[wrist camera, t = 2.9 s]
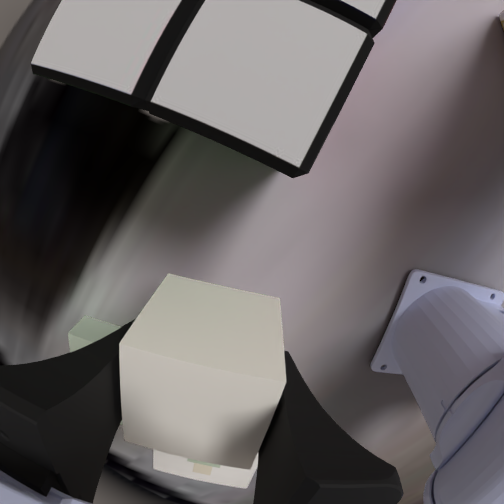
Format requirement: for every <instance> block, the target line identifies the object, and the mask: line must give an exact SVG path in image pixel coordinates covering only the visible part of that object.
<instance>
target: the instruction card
mask: <svg viewBox="0 0 504 504" xmlns="http://www.w3.org/2000/svg"><path fill="white" fill-rule="evenodd" d="M257 466H258V453H257V455H256V458H255V460H254V462H253V465H252V467H251V469H250V470H248V469H241V468H235V467H229V466H223V465H217V464H212V463H207V462H202V461H198V460H193V459H189V458H184V457H180V456H176V455H172V454H168V453H164V452H161V451H157V450H153V469H156V470H159V471H163V472H167V473H170V474H174V475H178V476H182V477H187V478H191V479H196V480H200V481H205V482H210V483H215V484H221V485H227V486H233V487H239V488H246V489H247V487H248V485H249V483H250V481H251V479H252V477H253V475H254V473H255V470H256V468H257Z"/></svg>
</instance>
